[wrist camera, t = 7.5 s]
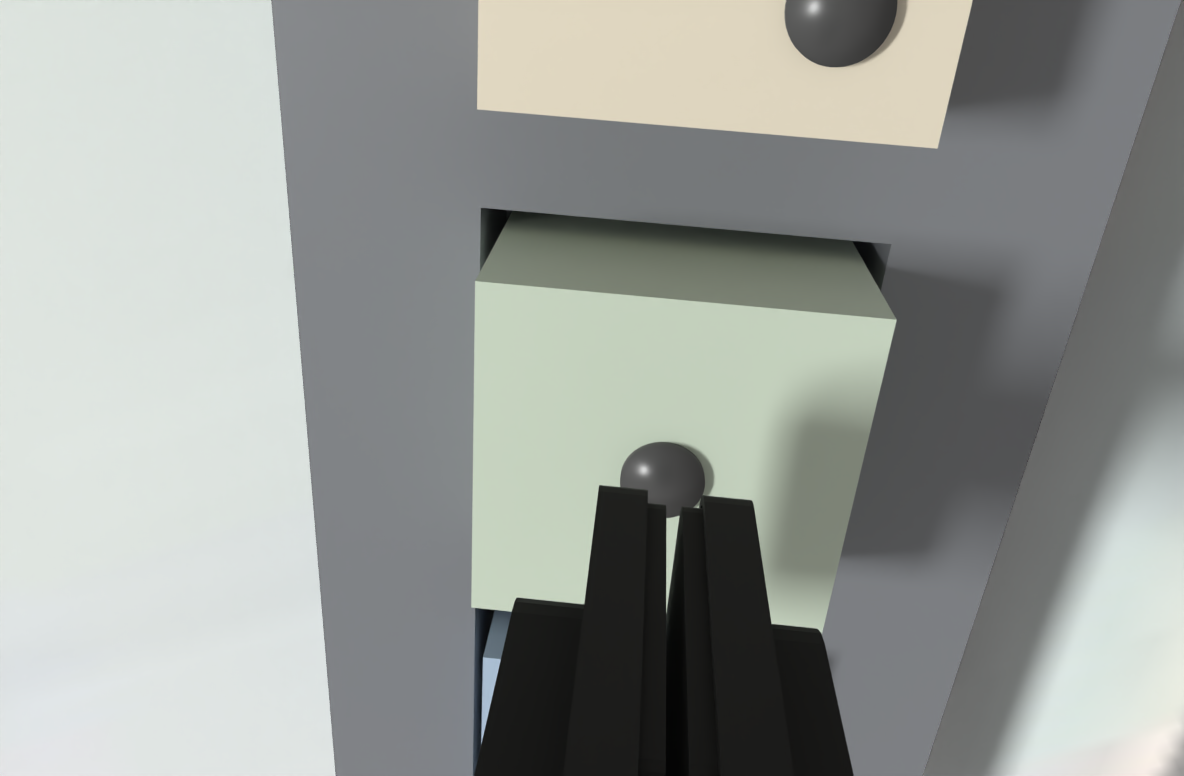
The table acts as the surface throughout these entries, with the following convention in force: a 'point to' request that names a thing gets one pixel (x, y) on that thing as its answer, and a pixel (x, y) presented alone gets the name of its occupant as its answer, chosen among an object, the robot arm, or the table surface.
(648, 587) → the robot arm
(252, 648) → the table surface
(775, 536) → the key one
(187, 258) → the table surface
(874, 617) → the keypad board
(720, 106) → the key two
